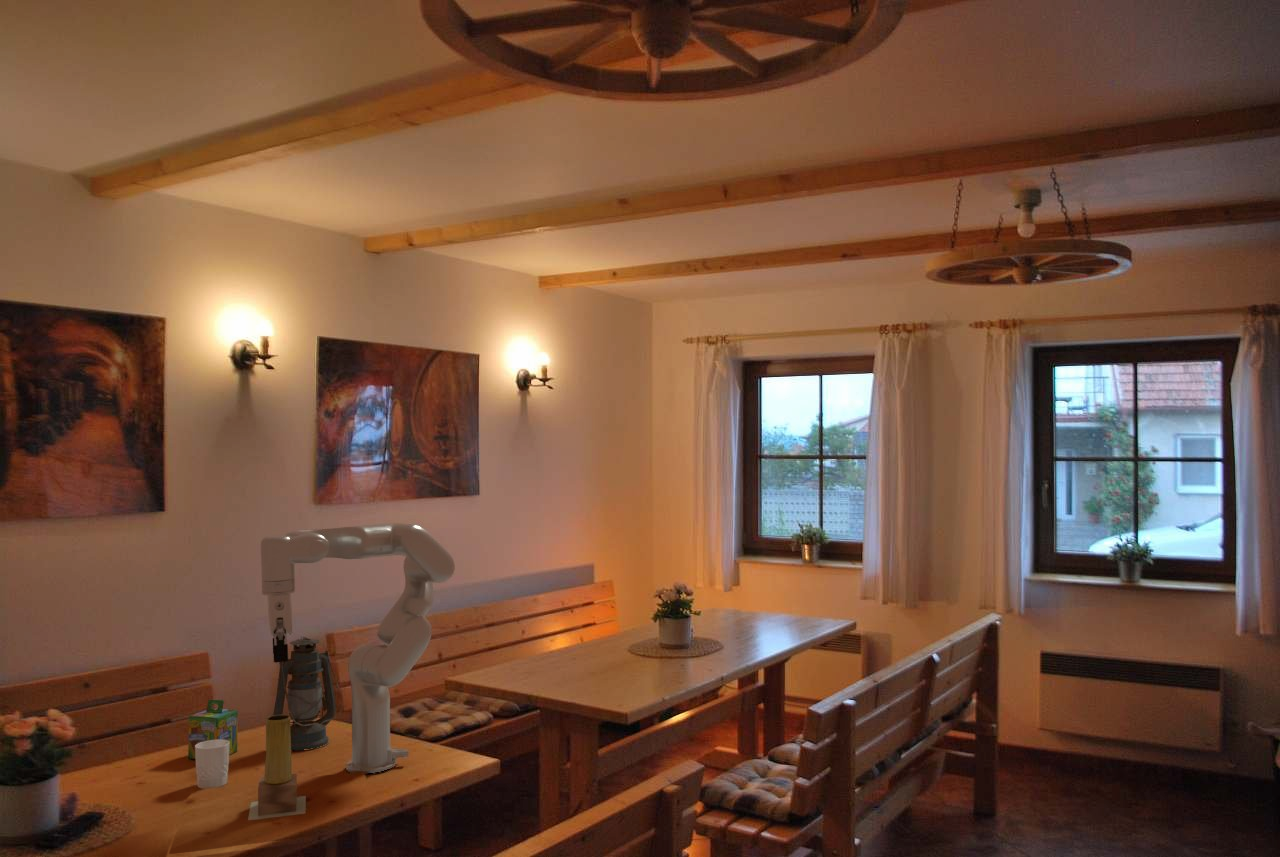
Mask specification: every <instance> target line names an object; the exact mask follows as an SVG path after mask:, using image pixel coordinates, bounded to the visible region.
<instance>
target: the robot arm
mask: <svg viewBox="0 0 1280 857" xmlns="http://www.w3.org/2000/svg"><path fill="white" fill-rule="evenodd" d="M391 556H392V557H393V556H404V557H405V558H404V560H403V567H402V568H403V575H404V578H405V579H404V580H405V581H404V582H405V584H404V589H403V592H402V594H401V595H400V596H399V598H398V599H397V601H396V602H395V603H394V604H393V606H392V607H391V608H390V610H389V611H388V613H386V615H385V616H384V618H383V619H382V620H381V622H380V623H379V625H378V627H377V631H376V632H377V634H376V635H377V638H378V640H379V641H380V642H381V643H382V644H384V645H379V644H374V643H363V644H360V645H359V646H357V647H356V648H354V650H353V651H352V652H351V653H350V655H349V658H348V662H347V668H348V677H349V681H350V688H351V746H352V747H351V755H352V756H351V759H350V760H349V761H347V762H346V764H345V770H346V771H347V772H348V773H351V774H352V773H360V772H361V773H362V772H364V774H365V775H367V774H366V773H373V774H376V773H375V772H379V773H381V772H380V771H384V770H387V769H389V768H391V767H393V766H394V765H395V764H396V765H397V759H398V758H408V757H409V749H403V748H397V749H394V748H392V745H391V726H390V724H391V720H390V719H391V712H390V711H391V707H390V706H391V705H390V704H391V698H390V697H391V696H390V690H389V688H390V687H394V686H396V685H398V684H400V682H402V681H403V680H404V679H405V678H406V677H407V676H408V674H409V673H410V671H411V670H412V669H413V667H414V665H416V663H417V662H418V660H419V659H420V657H421V656H422V655H423V654H424V652H425V650H426V649H427V647H428V645H429V643H430V641H431V639H432V638H431V637H432V625H431V623H430V621H429V620H428V619H427V618H426V615H427V614H428V613H429V611H430V610H431V607H432V604H433V601H434V585H433V584H435V583H436V584H442V583H445V582H447V581H449V580H450V579H451V578H452V577H453V575H454V572H455V569H456V565H455V561H454V558H453V556H452V555H451V553H450V552H449V551H448V550H447V549H446V548H444V546H443V545H441V544H440V543H439V541H438V540H436V539H435V538H434V536H432V535H431V534H430V533H429V532H428V531H427V530H426V529H425V528H423V527H422V526H420V525H418V524H413V523H412V524H411V523H398V522H397V523H395V522H394V523H382V524H368V525H355V526H353V525H352V526H344V527H343V526H342V527H334V528H333V527H332V528H318V529H317V528H316V529H304V530H302V529H301V530H293V531H290V532H288V533H286V534H285V535H282V534H279V535H277V534H276V535H269V536H268V535H267V536H266V537H263V538H262V540H261V541H260V566H261V567H260V568H261V594H262V596H267V613H268V614H267V615H268V624H269V630H270V635H271V636H272V654H273V663H280V662H286V661H288V659H289V646H288V643H287V641H288V640H287V634H289V635H290V636H292V634H293V612H292V611H293V610H292V608H293V607H292V596H291V595H292V594H293V593H295V592H296V582H295V579H296V578H295V564H317V563H319V562H321V561H323V560H324V558H325V559H327V558H330V559H333V558H334V559H344V560H362V559H369V558H373V559H374V558H380V557H391ZM385 645H386V646H385ZM396 765H395V766H396ZM393 768H394V767H393ZM387 771H388V770H387ZM384 772H385V771H384Z"/></svg>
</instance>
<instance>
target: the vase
mask: <svg viewBox="0 0 1280 857" xmlns="http://www.w3.org/2000/svg"><path fill="white" fill-rule="evenodd" d="M290 722H291V718H290V715H289V714H282V715H273V714H272V715H270V716H267V717H266V719H265V765H264V775H263V776H264V782H265V783H266V784H282V783H286V782H289V781H290V780H292V769H293V768H292V765H293V764H292V751H291V735H290V724H291V723H290Z"/></svg>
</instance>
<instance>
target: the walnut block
mask: <svg viewBox="0 0 1280 857" xmlns="http://www.w3.org/2000/svg"><path fill="white" fill-rule="evenodd" d="M297 778H298V775H297V773H293V774H292V780H290V781H289V782H286V783H282V784H266V783H265V782H264V777H259V781H258V786H257V788H258V789H257V801H258V816H262V815H270V814H278V813H287V812H295V811H296V805H297V797H298V796H297V795H298V794H297V791H298V789H297V786H298V784H297V781H298V780H297Z"/></svg>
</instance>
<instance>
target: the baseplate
mask: <svg viewBox="0 0 1280 857" xmlns="http://www.w3.org/2000/svg"><path fill="white" fill-rule="evenodd" d="M306 798H307V796H306V795H302V796H301V795H299V796H297V805H296V811H295V812H287V813H278V814H270V815H262V816H258V800H256V801H251V802H250V805H249V811H248V812H249V813H248V818H247V821H253V820H254V821H255V820H264V819H271V818H279V817H288V816H295V815H303V814H306V812H307V811H306V810H307V808H306V807H307V806H306V804H307V802H306V801H307V799H306Z"/></svg>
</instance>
